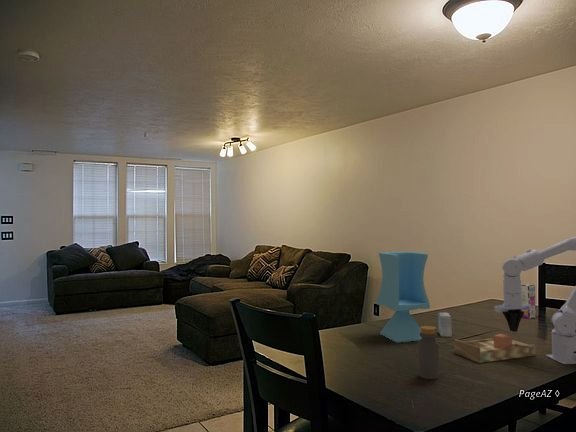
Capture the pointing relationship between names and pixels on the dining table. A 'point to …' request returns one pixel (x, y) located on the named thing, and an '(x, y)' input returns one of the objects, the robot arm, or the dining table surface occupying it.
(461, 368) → the dining table surface
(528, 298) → the candy bar box
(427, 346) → the bottle
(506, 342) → the brick block
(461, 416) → the dining table surface
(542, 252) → the robot arm
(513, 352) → the trap tray
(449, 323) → the medicine box
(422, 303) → the blue pedestal chair
